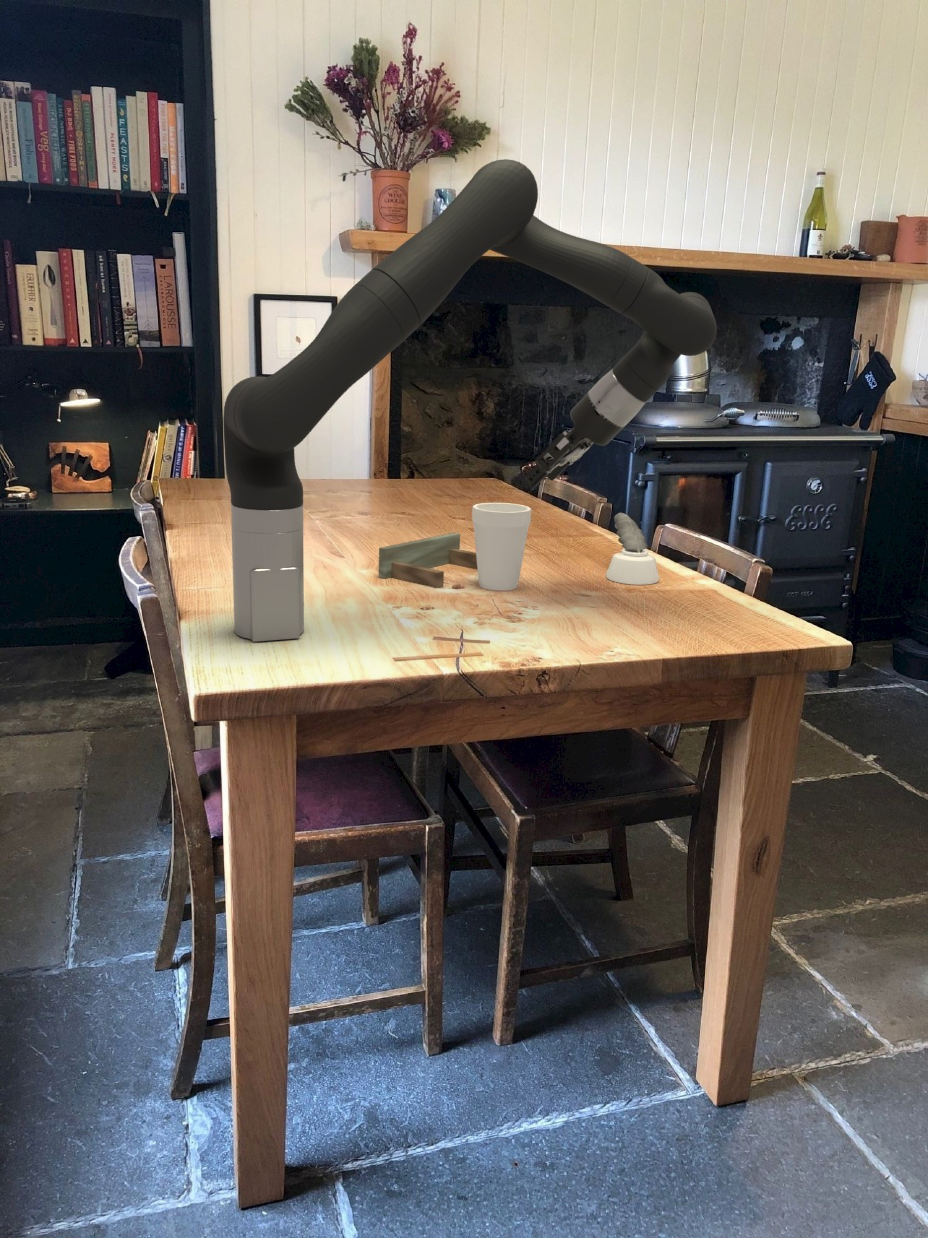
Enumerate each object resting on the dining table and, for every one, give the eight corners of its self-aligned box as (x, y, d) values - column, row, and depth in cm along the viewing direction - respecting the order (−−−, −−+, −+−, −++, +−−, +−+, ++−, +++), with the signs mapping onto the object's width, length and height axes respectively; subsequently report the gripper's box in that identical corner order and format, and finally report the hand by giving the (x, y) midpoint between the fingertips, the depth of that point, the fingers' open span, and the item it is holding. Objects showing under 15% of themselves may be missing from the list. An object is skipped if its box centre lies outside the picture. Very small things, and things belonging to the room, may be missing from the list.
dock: (503, 570, 173) (505, 542, 171) (431, 589, 157) (432, 559, 156) (452, 559, 179) (453, 532, 178) (378, 577, 164) (379, 547, 163)
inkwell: (615, 585, 165) (620, 527, 162) (583, 562, 182) (587, 508, 179) (667, 585, 167) (673, 527, 164) (631, 561, 184) (635, 508, 181)
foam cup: (493, 576, 168) (497, 500, 164) (537, 586, 162) (542, 508, 159) (458, 585, 161) (461, 506, 157) (503, 596, 155) (507, 514, 152)
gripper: (606, 385, 153) (538, 457, 161) (575, 392, 141) (503, 469, 149) (638, 420, 152) (568, 490, 161) (610, 430, 140) (536, 505, 148)
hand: (537, 480), depth 155 cm, fingers open, 8 cm apart
